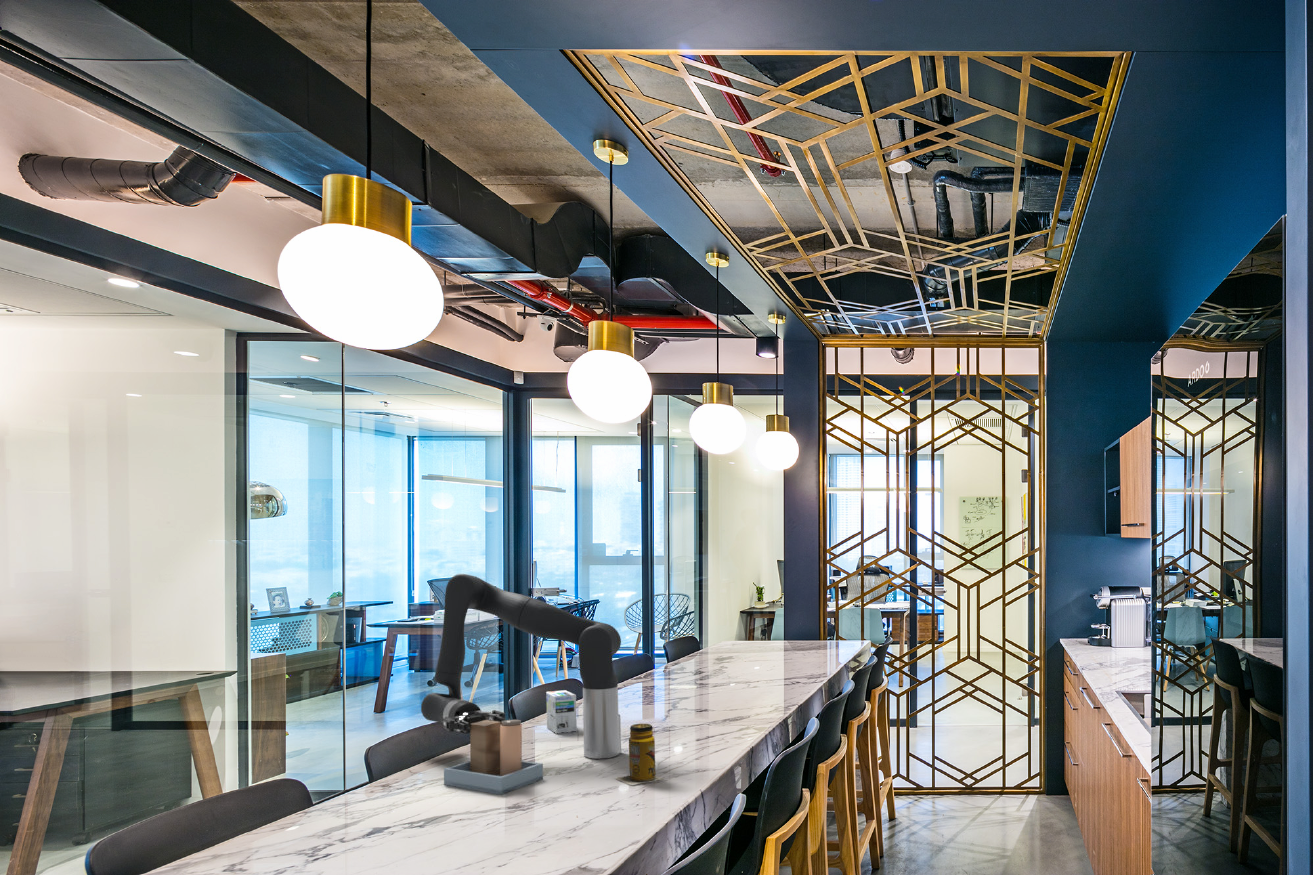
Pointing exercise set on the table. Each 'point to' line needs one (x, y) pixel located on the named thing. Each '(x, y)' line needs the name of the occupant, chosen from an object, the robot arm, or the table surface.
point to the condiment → (641, 755)
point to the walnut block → (485, 747)
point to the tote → (492, 778)
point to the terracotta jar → (510, 746)
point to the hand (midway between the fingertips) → (484, 725)
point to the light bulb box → (561, 711)
